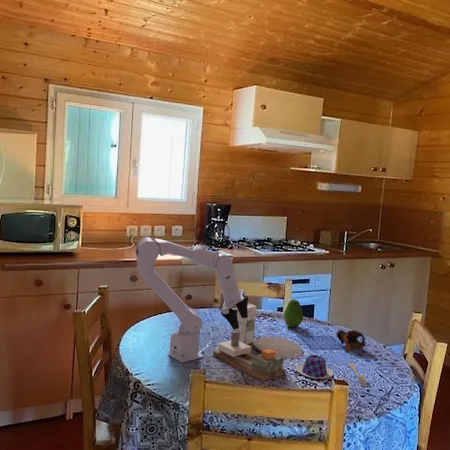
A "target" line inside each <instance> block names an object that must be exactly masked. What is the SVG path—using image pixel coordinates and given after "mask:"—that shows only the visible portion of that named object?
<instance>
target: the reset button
mask: <svg viewBox="0 0 450 450" xmlns="http://www.w3.org/2000/svg"><path fill="white" fill-rule="evenodd" d="M261 354H262V355H261V357H262V358H264V359H267V360H271V359H275V354H276V351H275V350H272V349H270V348H266V349H263V350H261Z"/></svg>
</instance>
